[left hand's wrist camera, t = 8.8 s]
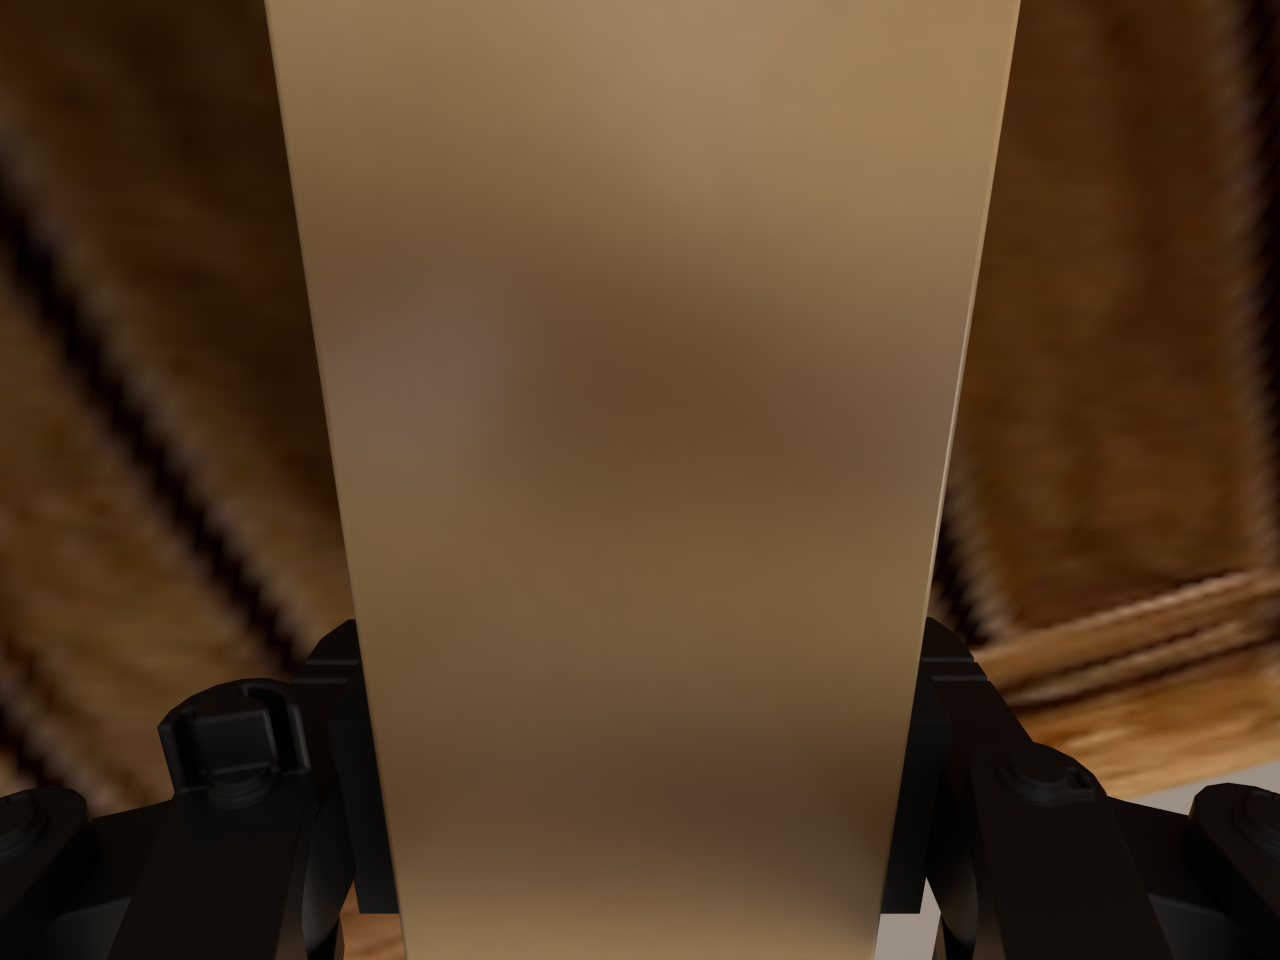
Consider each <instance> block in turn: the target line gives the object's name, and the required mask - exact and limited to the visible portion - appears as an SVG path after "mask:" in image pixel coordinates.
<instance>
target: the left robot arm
mask: <svg viewBox="0 0 1280 960" xmlns="http://www.w3.org/2000/svg"><path fill="white" fill-rule="evenodd" d="M157 729H158V732H159V736H160V740H161V743H162V747H163V751H164V755H165V758H166V762H167V766H168V769H169V773H170V777H171V780H172V784H173V788H174V791H175V793H174V796H173V798H172V799H171V800H168V801H165V802H161V803H158V804H154V805H151V806H146V807H142V808H137V809H133V810H129V811H124V812H120V813H115V814H111V815H106V816H102V817H97V818H93V819H92V818H91V815H90V812H89V809H88V806H87V803H86V800H85V799H84V798H83V797H82V796H81V795H80V794H79V793H77V792H76V791H75V790H74V789H68V788H61V787H55V786H50V787H43V788H35V789H28V790H23V791H20V792H17V793H14V794H10V795H8V796H4V797H1V798H0V960H343V956H344V947H345V946H344V939H343V931H342V925H341V920H340V915H339V914H340V911H341V909H342V906H343V904H344V901H345V899H346V897H347V894H348V892H349V889H350V887H351V884H352V882H353V880H354V884H355V889H356V895H357V901H358V906H359V912H360V914H399V909H398V902H397V895H396V888H395V882H394V875H393V868H392V861H391V855H390V848H389V841H388V834H387V828H386V821H385V814H384V807H383V801H382V794H381V787H380V780H379V774H378V767H377V760H376V753H375V747H374V740H373V733H372V726H371V719H370V713H369V706H368V699H367V692H366V686H365V679H364V672H363V665H362V659H361V652H360V645H359V638H358V632H357V625H356V619H354V620H347V621H346V622H344V623H343V624H341V625H340V626H338V627H337V628H336V629H334V630H333V631H331V632H330V633H328V634H327V635H326V636H324V637H323V638H321V640H320V641H319V643H318V644H317V645H316V647H315V648H314V650H313V651H312V652H311V654H310V655H309V657H308V658H307V660H306V665H302V667H301V668H300V670H299V671H298V672H297V674H296V675H295V677H294V678H293V683H292V684H289V685H288V684H287V683H285V682H281V681H277V680H273V679H269V678H254V679H241V680H236V681H232V682H228V683H224V684H219V685H216V686H213V687H211V688H209V689H207V690H204V691H202V692H200V693H197V694H195V695H193V696H191V697H189V698H188V699H186V700H185V701H183V702H182V703H181V704H179V705H178V706H176V707H175V708H173V709H172V710H171V711H170V712H169V713H168V714H167V715H166V717H165V718H164V719H163V720H162V722H161V723H160V724H159V725H158V727H157ZM926 877H927V880H928V882H929V885H930V887H931V889H932V892H933V894H934V897H935V899H936V901H937V904H938V906H939V909H940V911H941V915H940V920H939V925H938V931H937V936H936V941H935V947H934V952H933V957H932V960H1280V794H1278V793H1275V792H1271V791H1269V790H1265V789H1262V788H1259V787H1256V786H1248V785H1241V784H1234V783H1223V784H1216V785H1209V786H1206V787H1205V788H1204V789H1202V790H1201V791H1200V792H1199V793H1198V794H1197V795H1195V797H1194V800H1193V803H1192V806H1191V809H1190V813H1189V816H1188V815H1184V814H1179V813H1175V812H1170V811H1166V810H1162V809H1157V808H1152V807H1148V806H1144V805H1139V804H1135V803H1130V802H1126V801H1123V800H1119V799H1116V798H1113V797H1109V796H1107V794H1106V792H1105V790H1104V789H1103V787H1102V786H1101V785H1100V783H1099V782H1098V780H1097V779H1096V777H1095V776H1094V774H1093V773H1091V772H1090V771H1089V770H1088V769H1086V768H1085V767H1084V766H1083V765H1081V764H1080V763H1079V762H1078V761H1076V760H1075V759H1074V758H1072V757H1070V756H1068V755H1066V754H1064V753H1062V752H1060V751H1058V750H1056V749H1054V748H1052V747H1050V746H1046V745H1043V744H1039V743H1035V742H1033V741H1032V739H1031V738H1030V737H1029V735H1028V734H1027V732H1026V731H1025V729H1024V728H1023V727H1022V725H1021V724H1020V722H1019V721H1018V720H1017V718H1016V717H1015V715H1014V714H1013V713H1012V711H1011V710H1010V708H1009V707H1008V705H1007V704H1006V703H1005V701H1004V700H1003V698H1002V697H1001V696H1000V694H999V693H998V691H997V690H996V688H995V687H994V686H993V684H992V683H991V681H987V676H986V674H985V673H984V671H983V670H982V669H981V667H980V666H979V664H978V663H977V662H974V657H973V656H972V655H971V653H970V652H969V650H968V649H967V647H966V646H965V645H964V643H963V642H962V640H961V639H960V638H959V636H958V635H956V634H955V633H953V632H952V631H950V630H949V629H948V628H946V627H945V626H943V625H942V624H940V623H939V622H938V621H936V620H935V619H933V618H932V617H926V621H925V627H924V634H923V640H922V647H921V654H920V660H919V667H918V673H917V680H916V686H915V693H914V699H913V706H912V712H911V719H910V725H909V732H908V738H907V745H906V751H905V758H904V764H903V771H902V777H901V784H900V790H899V797H898V804H897V810H896V817H895V823H894V830H893V836H892V843H891V849H890V856H889V862H888V869H887V875H886V882H885V888H884V895H883V901H882V908H881V914H919V913H920V909H921V903H922V897H923V892H924V886H925V880H926Z"/></svg>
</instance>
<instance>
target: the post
mask: <svg viewBox="0 0 1280 960" xmlns="http://www.w3.org/2000/svg"><path fill="white" fill-rule="evenodd" d="M1020 2H1021V0H264V3H265V10H266V17H267V23H268V30H269V37H270V44H271V50H272V57H273V64H274V71H275V77H276V84H277V91H278V98H279V104H280V111H281V118H282V125H283V131H284V138H285V145H286V152H287V158H288V165H289V172H290V179H291V186H292V192H293V199H294V206H295V213H296V219H297V226H298V233H299V240H300V246H301V253H302V260H303V267H304V273H305V280H306V287H307V294H308V300H309V307H310V314H311V321H312V327H313V334H314V341H315V348H316V354H317V361H318V368H319V375H320V382H321V388H322V395H323V402H324V409H325V415H326V422H327V429H328V436H329V442H330V449H331V456H332V463H333V469H334V476H335V483H336V490H337V496H338V503H339V510H340V517H341V523H342V530H343V537H344V544H345V551H346V557H347V564H348V571H349V578H350V584H351V591H352V598H353V605H354V611H355V618H356V625H357V632H358V638H359V645H360V652H361V659H362V665H363V672H364V679H365V686H366V692H367V699H368V706H369V713H370V719H371V726H372V733H373V740H374V747H375V753H376V760H377V767H378V774H379V780H380V787H381V794H382V801H383V807H384V814H385V821H386V828H387V834H388V841H389V848H390V855H391V861H392V868H393V875H394V882H395V888H396V895H397V902H398V909H399V916H400V922H401V929H402V936H403V943H404V949H405V956H406V960H874V953H875V947H876V940H877V934H878V927H879V921H880V914H881V908H882V901H883V895H884V888H885V882H886V875H887V869H888V862H889V856H890V849H891V843H892V836H893V830H894V823H895V817H896V810H897V804H898V797H899V790H900V784H901V777H902V771H903V764H904V758H905V751H906V745H907V738H908V732H909V725H910V719H911V712H912V706H913V699H914V693H915V686H916V680H917V673H918V667H919V660H920V654H921V647H922V640H923V634H924V627H925V621H926V614H927V608H928V601H929V595H930V588H931V582H932V575H933V569H934V562H935V556H936V549H937V543H938V536H939V530H940V523H941V517H942V510H943V504H944V497H945V491H946V484H947V477H948V471H949V464H950V458H951V451H952V445H953V438H954V432H955V425H956V419H957V412H958V406H959V399H960V393H961V386H962V380H963V373H964V367H965V360H966V354H967V347H968V341H969V334H970V328H971V321H972V314H973V308H974V301H975V295H976V288H977V282H978V275H979V269H980V262H981V256H982V249H983V243H984V236H985V230H986V223H987V217H988V210H989V204H990V197H991V191H992V184H993V178H994V171H995V165H996V158H997V151H998V145H999V138H1000V132H1001V125H1002V119H1003V112H1004V106H1005V99H1006V93H1007V86H1008V80H1009V73H1010V67H1011V60H1012V54H1013V47H1014V41H1015V34H1016V28H1017V21H1018V15H1019V8H1020Z"/></svg>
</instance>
